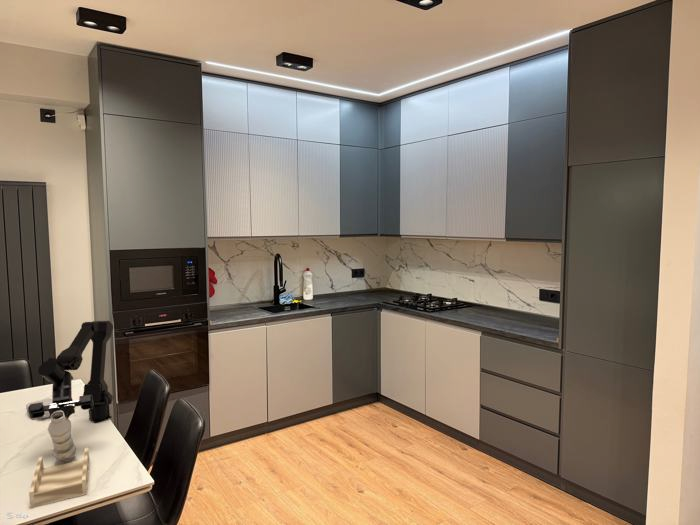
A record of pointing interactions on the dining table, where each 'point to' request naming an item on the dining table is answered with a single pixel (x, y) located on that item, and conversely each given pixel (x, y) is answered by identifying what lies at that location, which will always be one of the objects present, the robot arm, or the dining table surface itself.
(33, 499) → the tray
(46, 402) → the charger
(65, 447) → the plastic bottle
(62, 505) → the dining table surface
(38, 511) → the dining table surface
